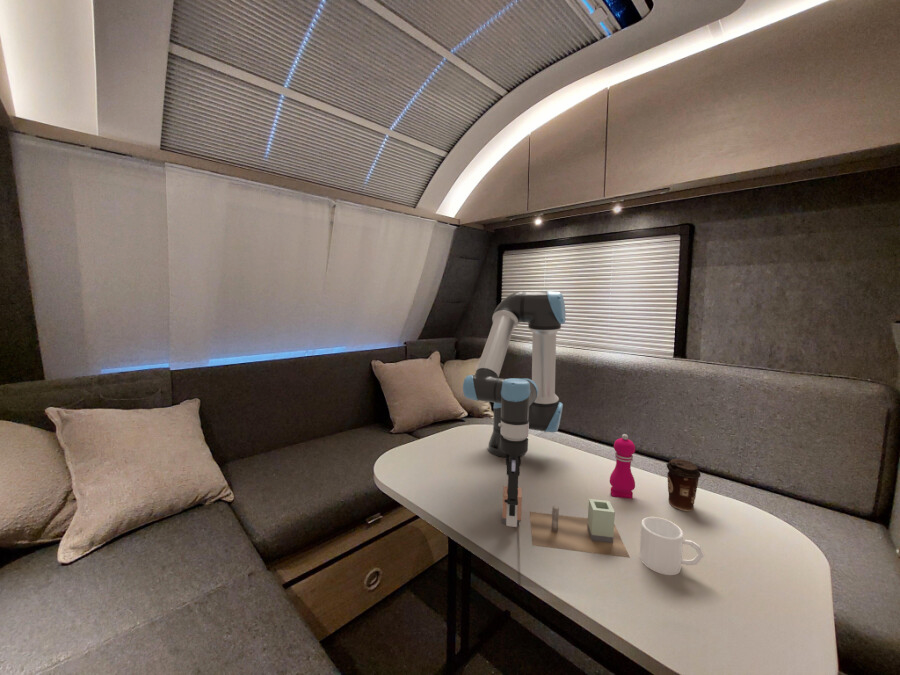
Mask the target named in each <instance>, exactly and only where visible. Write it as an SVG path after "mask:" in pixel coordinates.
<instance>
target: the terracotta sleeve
mask: <svg viewBox="0 0 900 675" xmlns="http://www.w3.org/2000/svg"><path fill="white" fill-rule="evenodd" d="M522 490H523V489H522V487H518V507H517V526H520V521H522V508H523V507H522V505H523V503H522V502H523V501H522V499H523V495H522V493H523V492H522ZM507 499H508V486H507V485H506V486H505V485H503V490H502V511H501V512H502V515H501V516H502V519H501V522H502V524H505V525H506V514H507V503H505V500H507Z"/></svg>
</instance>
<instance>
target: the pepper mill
mask: <svg viewBox="0 0 900 675" xmlns="http://www.w3.org/2000/svg"><path fill="white" fill-rule="evenodd" d="M613 449H614V451H615V452H614V458H615V459H616V460H615V467H614V469H613V470H612V472H611V474H610V476H609V484H610V486H611V487H610V496H612V497H613V498H621V499H629V500H633V497H634V492H633V491H634V490H635V487H636V481H635V477H634V475H633V473H632V469H631V464H632V461H633V460H634V458H633V457H634V456H633V455H634V454H635V452H636V445H635V443H634V442H633V441H632V440H631V439H629V436H628V434H626V433H623V434H622V435H621V437H620V438H618V439H616V440H615V441H614V444H613Z"/></svg>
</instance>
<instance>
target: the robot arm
mask: <svg viewBox="0 0 900 675" xmlns="http://www.w3.org/2000/svg"><path fill="white" fill-rule="evenodd" d="M565 306H566V304H565V299H564V295H563V294H562V293H561V292H559V291H552V290H551V291H550V290H539V291H538V290H537V291H535V290H534V291H529V290H528V291H526V290H525V291H524V290H523V291H522V290H520V291H516V292H513V293H511V294H509V295H508V296H506V297H505V298H503V300H502V301H501V302H500V303H499V304H498V305H497V306H496V308H495V310H494V311H493V314H492V320H491V321H492V325H491V328H490V331H489V334H488V337H487V339H486V342H485V345H484V348H483V351H482V353H481V356H480V358H479V362H478V364H477V367H476V370H475V373H474V374H469V375H468V374H467V375H466V376H465V378H464V380H463V383H462V392H463V395H464V397H465V399H468V400H472V401H476V402H480V401H481V402H489V403H493V407H492V408H493V421H492V422H493V423H492V424H493V425H492V426H493V428H492V432H491V433H492V434H491V436H490V439H489V441H488V446H487V448H488V449H487V450H488V451H489V453H491V454H492V455H493V456H494V455H495V456H498V457H501V458H505V465H506V476H507V480H506V481H507V482H506V483H507V484H506V486H508V499H507V500H505V503H507V514H506V524H505V525H506V527H513V528H514V527H515V528H517V527H518V525H517V507H518V488H519V477H520V474H521V473H520V472H521V466H522V465H521V463H522V462H521V461H522V459H521V457H522V456H525V454H526V453H527V452H528V450H529V438H528V437H529V435H530V434H529V433H530V430H532V431H539V432H544V433H557V431H558V430H559V427H560V423H561V419H562V413H563V406H564V404H563V403H562V402H559V401H560V398H559V396H558V395H557V394H556V356H557V332H558V331H560V330H561V329H562V325H564V324H566V307H565ZM519 323H524V324H525V323H527V324H528V325H527V326H528V329H529V331H530V332H531V333H532V337H531V339H532V341H531V342H532V345H531V346H532V348H531V349H532V350H531V351H532V352H531V354H532V355H531V357H532V359H531V365H532V366H531V379H530V378H527V377H526V378H517V377H516V378H515V377H513V378H510V377H509V378H501V377H500V374H501V370H502V368H503V366H504V361H505V358H506V354H507V350H508V347H509V344H510V341H511V338H512V334H513V331H514V329H516V328H517V326H518V325H519Z"/></svg>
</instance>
